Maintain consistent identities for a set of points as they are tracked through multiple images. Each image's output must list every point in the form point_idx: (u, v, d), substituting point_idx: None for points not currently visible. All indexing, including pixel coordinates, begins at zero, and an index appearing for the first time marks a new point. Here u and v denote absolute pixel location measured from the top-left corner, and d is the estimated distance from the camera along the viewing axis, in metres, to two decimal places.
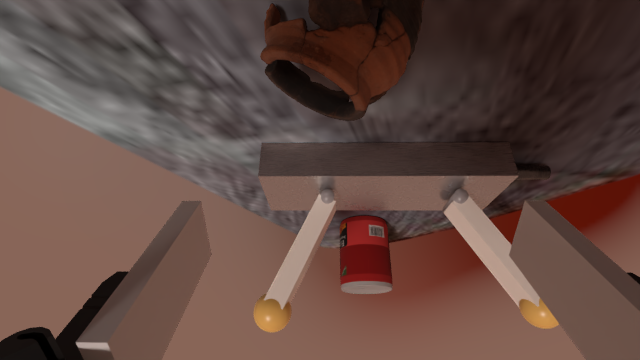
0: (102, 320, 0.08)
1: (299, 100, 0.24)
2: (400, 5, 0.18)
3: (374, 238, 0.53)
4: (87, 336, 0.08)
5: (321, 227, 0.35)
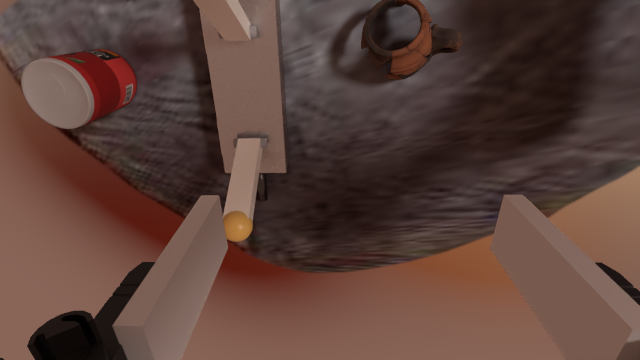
0: (135, 305, 0.09)
1: (373, 16, 0.40)
2: (422, 65, 0.43)
3: (124, 92, 0.45)
4: (123, 320, 0.08)
5: (243, 27, 0.37)
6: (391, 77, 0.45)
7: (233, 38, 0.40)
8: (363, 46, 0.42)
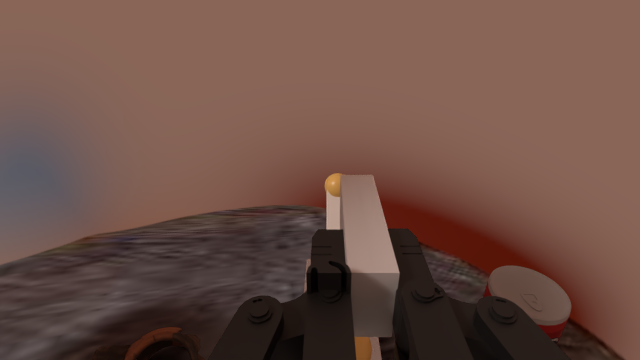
0: (355, 258, 0.10)
1: None
2: None
3: None
4: (354, 268, 0.10)
5: None
6: None
7: None
8: None
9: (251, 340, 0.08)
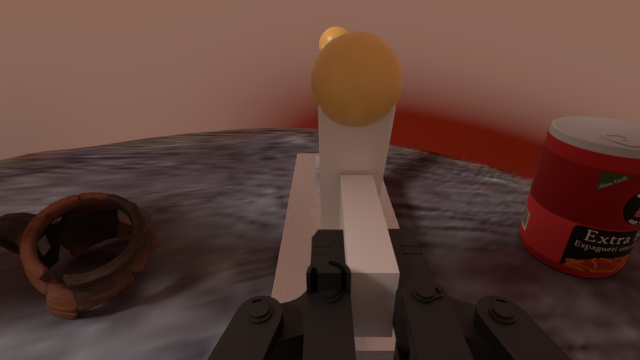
0: (355, 258, 0.10)
1: (117, 256, 0.23)
2: (77, 221, 0.29)
3: (528, 204, 0.29)
4: (354, 268, 0.10)
5: None
6: None
7: None
8: (154, 236, 0.27)
9: (251, 340, 0.08)
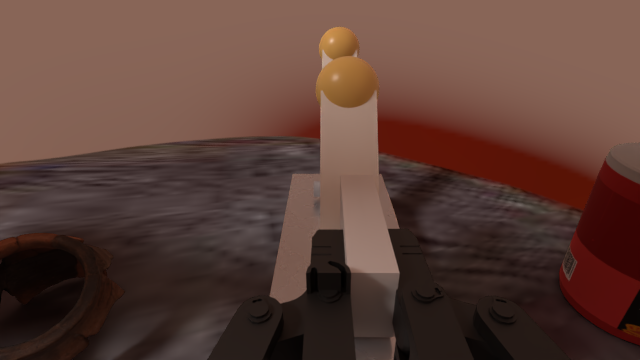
0: (355, 258, 0.10)
1: (61, 320, 0.18)
2: None
3: (574, 249, 0.24)
4: (353, 268, 0.10)
5: None
6: None
7: None
8: (115, 285, 0.22)
9: (251, 340, 0.08)
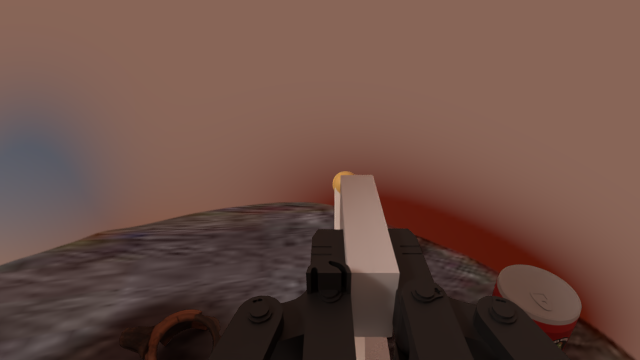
0: (356, 258, 0.10)
1: None
2: None
3: None
4: (354, 268, 0.10)
5: None
6: None
7: None
8: None
9: (251, 340, 0.08)
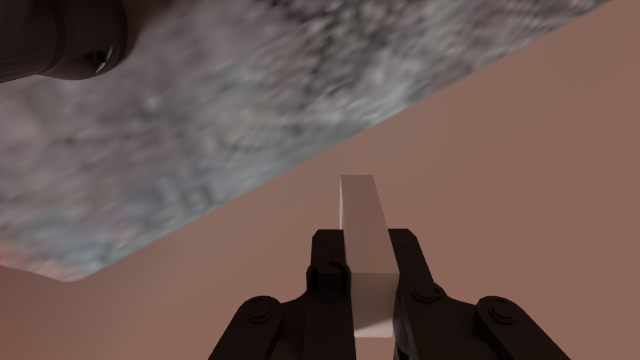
0: (356, 258, 0.10)
1: None
2: None
3: None
4: (354, 268, 0.10)
5: None
6: None
7: None
8: None
9: (251, 340, 0.08)
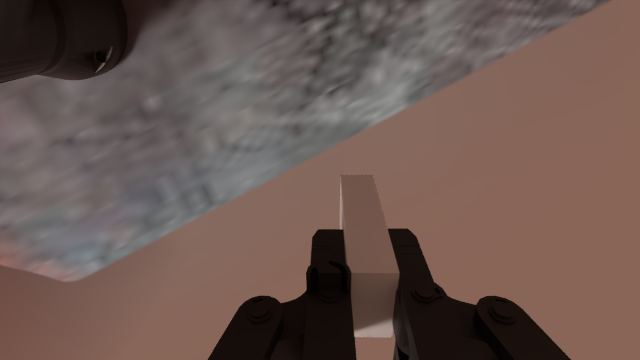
0: (355, 258, 0.10)
1: None
2: None
3: None
4: (354, 268, 0.10)
5: None
6: None
7: None
8: None
9: (251, 340, 0.08)
